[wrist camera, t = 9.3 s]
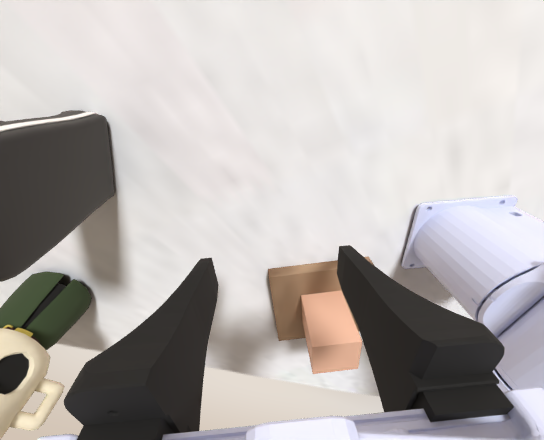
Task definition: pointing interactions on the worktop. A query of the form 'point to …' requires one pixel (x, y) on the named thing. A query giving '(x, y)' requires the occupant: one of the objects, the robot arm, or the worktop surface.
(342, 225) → the worktop surface
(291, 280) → the walnut board
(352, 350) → the terracotta block
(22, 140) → the battery charger
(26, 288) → the character mug
